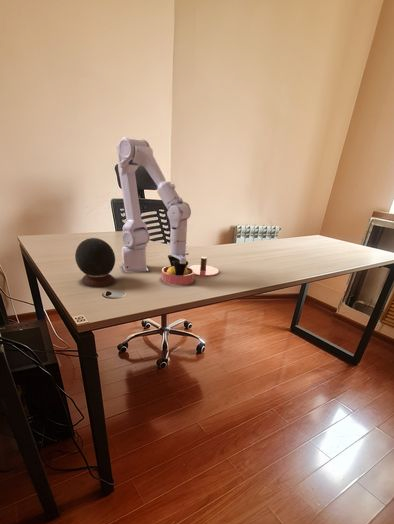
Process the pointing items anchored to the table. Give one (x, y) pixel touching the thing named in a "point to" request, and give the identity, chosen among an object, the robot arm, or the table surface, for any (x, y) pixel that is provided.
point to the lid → (204, 268)
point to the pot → (177, 277)
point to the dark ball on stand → (95, 262)
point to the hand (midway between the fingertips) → (177, 277)
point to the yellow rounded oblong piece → (172, 271)
